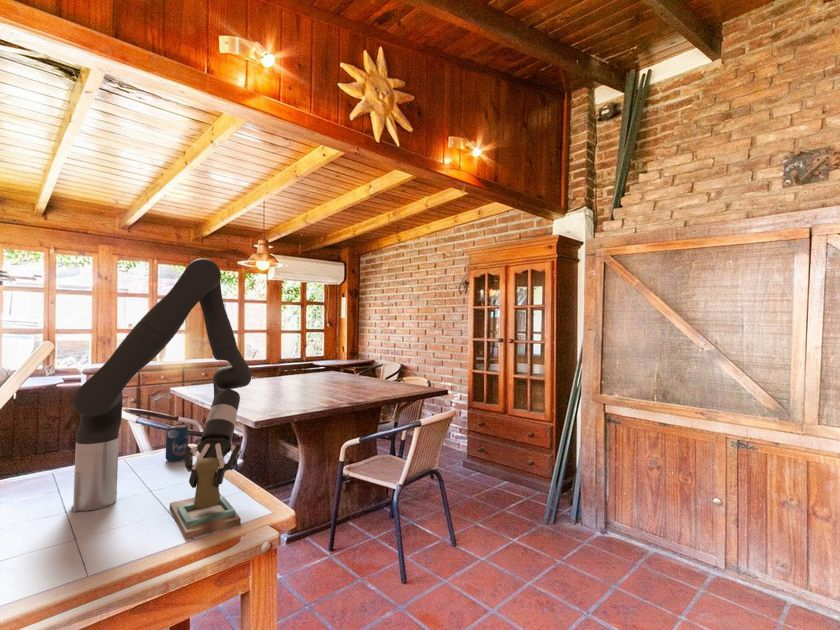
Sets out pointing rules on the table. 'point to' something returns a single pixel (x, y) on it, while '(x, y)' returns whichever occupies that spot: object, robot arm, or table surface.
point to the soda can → (176, 442)
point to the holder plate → (203, 517)
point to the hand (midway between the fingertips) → (204, 485)
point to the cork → (207, 483)
